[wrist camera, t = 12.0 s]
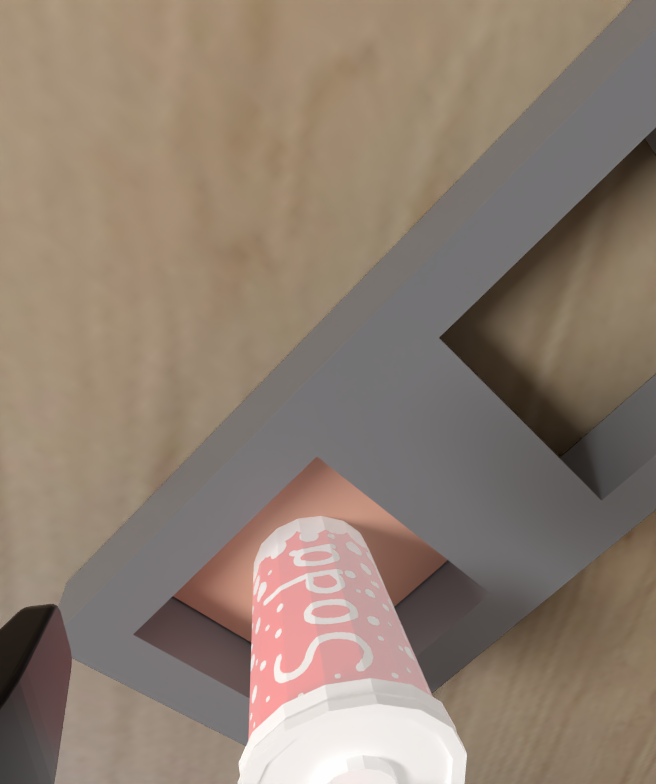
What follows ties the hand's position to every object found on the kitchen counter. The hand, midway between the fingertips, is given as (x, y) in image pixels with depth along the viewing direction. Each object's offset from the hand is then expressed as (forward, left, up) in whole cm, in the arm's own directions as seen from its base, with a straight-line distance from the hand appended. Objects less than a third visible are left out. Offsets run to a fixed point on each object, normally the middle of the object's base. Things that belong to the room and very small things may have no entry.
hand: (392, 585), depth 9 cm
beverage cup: (-1, +10, -13) cm, 16 cm away
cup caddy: (-6, +4, -13) cm, 15 cm away
